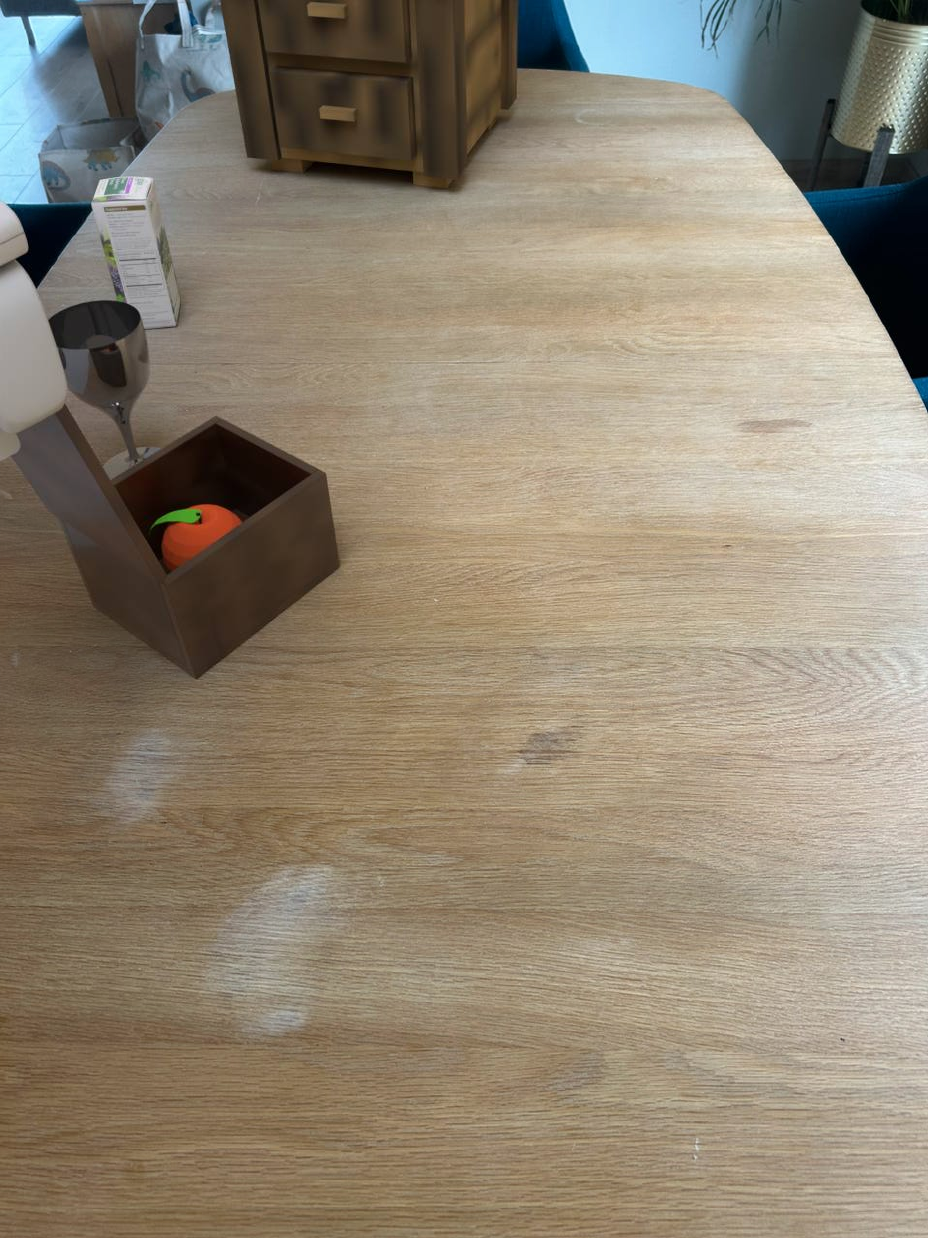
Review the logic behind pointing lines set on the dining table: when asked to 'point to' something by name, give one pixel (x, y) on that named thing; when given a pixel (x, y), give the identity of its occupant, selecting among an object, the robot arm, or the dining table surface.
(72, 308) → the wine glass
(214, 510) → the clementine
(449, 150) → the wooden drawer cabinet
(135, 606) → the chest
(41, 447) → the lid
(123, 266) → the syrup box
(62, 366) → the robot arm
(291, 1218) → the dining table surface
